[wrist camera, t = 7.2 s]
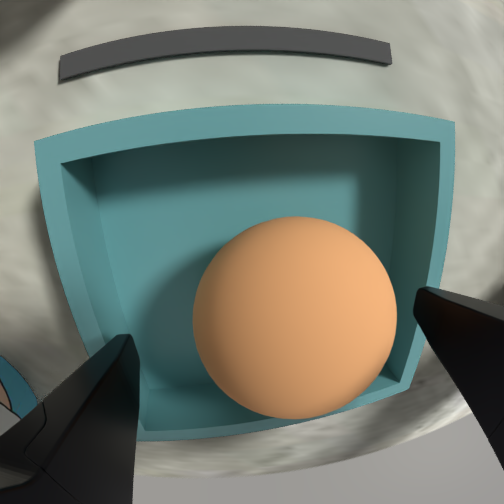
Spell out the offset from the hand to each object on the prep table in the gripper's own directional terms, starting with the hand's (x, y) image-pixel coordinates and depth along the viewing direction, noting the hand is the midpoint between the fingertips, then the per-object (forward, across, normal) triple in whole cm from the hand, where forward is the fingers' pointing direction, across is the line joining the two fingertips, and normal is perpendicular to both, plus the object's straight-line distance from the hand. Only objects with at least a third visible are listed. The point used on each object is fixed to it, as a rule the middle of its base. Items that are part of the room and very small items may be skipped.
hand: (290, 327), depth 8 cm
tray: (+4, 0, 0) cm, 4 cm away
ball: (0, 0, 0) cm, 0 cm away
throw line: (+4, 0, -9) cm, 10 cm away
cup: (+4, +17, +6) cm, 19 cm away
